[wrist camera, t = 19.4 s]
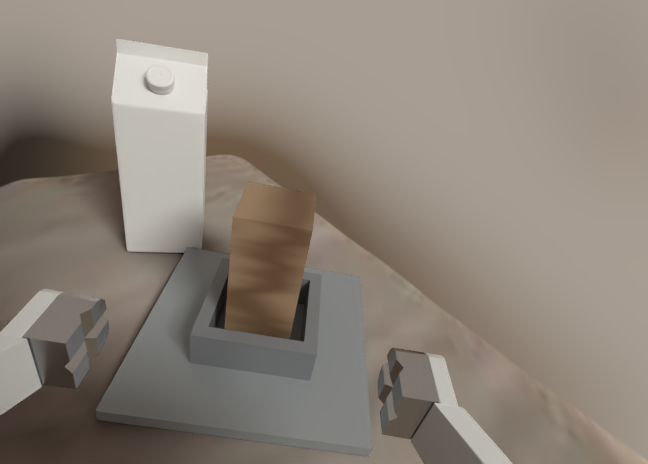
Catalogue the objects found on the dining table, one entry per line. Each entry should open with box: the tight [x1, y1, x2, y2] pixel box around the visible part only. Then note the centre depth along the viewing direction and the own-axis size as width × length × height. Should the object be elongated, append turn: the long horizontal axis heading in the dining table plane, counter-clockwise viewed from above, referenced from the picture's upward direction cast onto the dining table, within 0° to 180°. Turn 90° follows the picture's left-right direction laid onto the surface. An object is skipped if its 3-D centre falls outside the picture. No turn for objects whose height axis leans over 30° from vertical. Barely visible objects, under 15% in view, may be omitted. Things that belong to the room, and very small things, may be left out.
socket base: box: [95, 247, 372, 457], centre depth 32 cm, size 18×18×4 cm
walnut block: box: [224, 182, 316, 339], centre depth 30 cm, size 5×5×12 cm
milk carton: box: [111, 39, 208, 253], centre depth 37 cm, size 7×7×19 cm
